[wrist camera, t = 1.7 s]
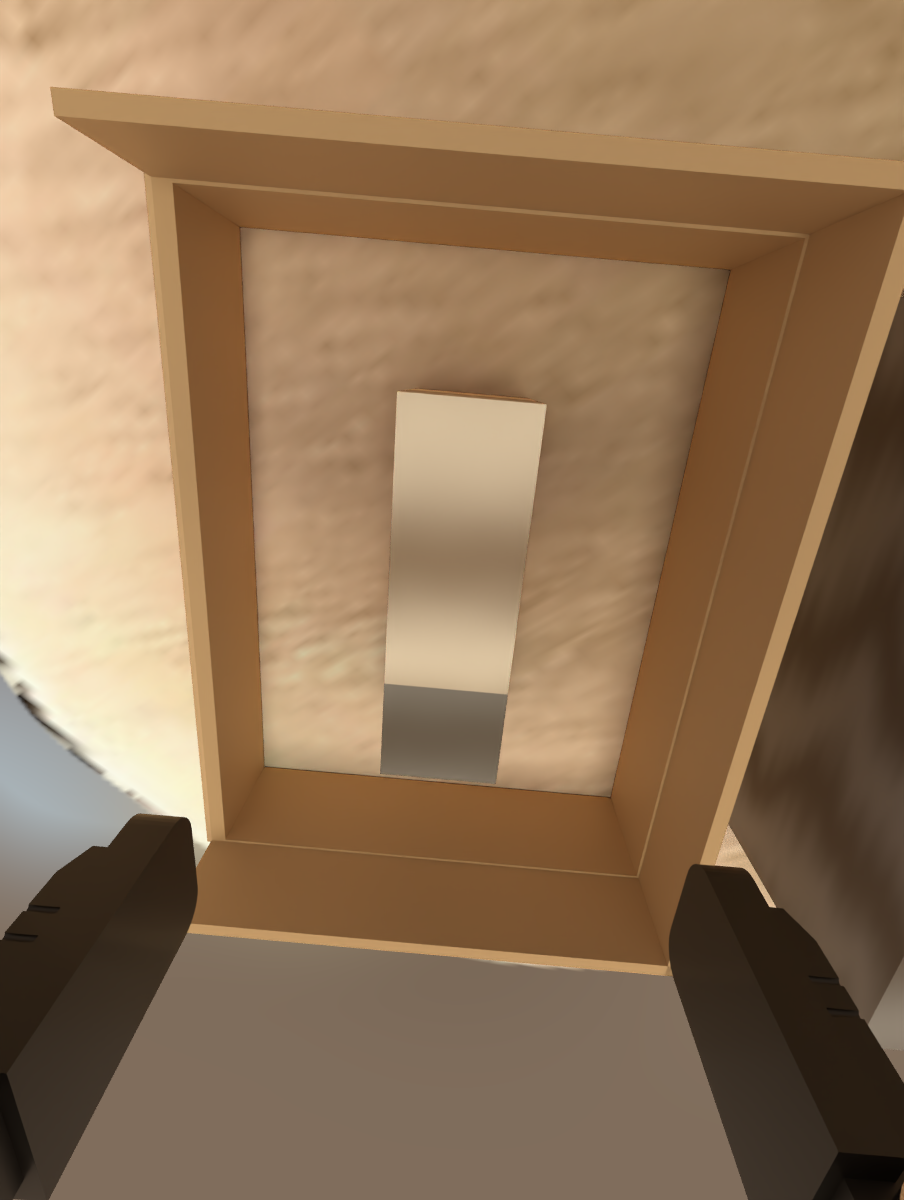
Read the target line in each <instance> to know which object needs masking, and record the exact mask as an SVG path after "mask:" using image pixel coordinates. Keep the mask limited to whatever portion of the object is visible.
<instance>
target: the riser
mask: <svg viewBox="0 0 904 1200" xmlns="http://www.w3.org/2000/svg"><path fill="white" fill-rule="evenodd" d="M728 824H729V826H730V827H731V829H732V831H733V833H734V834H735V836H736V838H737V839H738V841H739V843H740V845H741V846H742V848H743V850H744V852H745V853H746V855H747V857H748V859H749V860H750V862H751V864H752V866H753V867H754V869H755V871H756V872H757V874H758V876H759V878H760V879H761V881H762V883H763V885H764V886H765V888H766V890H767V892H768V893H769V895H770V897H771V899H772V900H773V902H774V904H775V905H776V907H777V908H783V909H784V910H785V911H786V912H787V913H788V914H789V915H790V916H791V917H792V918H793V919H794V920H795V921H797V922H798V923H799V924H800V925H801V926H802V927H803V928H804V929H805V930H806V931H807V932H808V933H809V934H810V935H811V936H812V937H813V938H814V939H815V940H816V941H817V943H818V945H819V946H820V948H821V950H822V951H823V953H824V954H825V956H826V958H827V959H828V961H829V963H830V964H831V966H832V967H833V969H834V971H835V972H836V974H837V976H838V977H839V983H840V985H841V986H844V987H845V989H846V990H847V992H848V993H849V995H850V997H851V998H852V1000H853V1002H854V1003H855V1005H856V1006H857V1008H858V1010H859V1016H860V1018H861V1019H865V1021H866V1023H867V1024H868V1026H869V1028H870V1029H871V1031H872V1032H873V1034H874V1036H875V1037H876V1039H877V1041H878V1042H879V1044H880V1045H881V1047H882V1049H893V1050H904V297H900V300H899V303H898V306H897V309H896V312H895V315H894V318H893V321H892V325H891V328H890V331H889V334H888V337H887V340H886V343H885V346H884V349H883V352H882V355H881V358H880V361H879V364H878V367H877V370H876V373H875V377H874V380H873V383H872V386H871V389H870V392H869V395H868V398H867V401H866V404H865V407H864V410H863V413H862V416H861V419H860V422H859V425H858V428H857V432H856V435H855V438H854V441H853V444H852V447H851V450H850V453H849V456H848V459H847V462H846V465H845V468H844V471H843V474H842V477H841V480H840V484H839V487H838V490H837V493H836V496H835V499H834V502H833V505H832V508H831V511H830V514H829V517H828V520H827V523H826V526H825V529H824V532H823V535H822V539H821V542H820V545H819V548H818V551H817V554H816V557H815V560H814V563H813V566H812V569H811V572H810V575H809V578H808V581H807V584H806V587H805V590H804V594H803V597H802V600H801V603H800V606H799V609H798V612H797V615H796V618H795V621H794V624H793V627H792V630H791V633H790V636H789V639H788V642H787V646H786V649H785V652H784V655H783V658H782V661H781V664H780V667H779V670H778V673H777V676H776V679H775V682H774V685H773V688H772V691H771V694H770V697H769V701H768V704H767V707H766V710H765V713H764V716H763V719H762V722H761V725H760V728H759V731H758V734H757V737H756V740H755V743H754V746H753V749H752V752H751V756H750V759H749V762H748V765H747V768H746V771H745V774H744V777H743V780H742V783H741V786H740V789H739V792H738V795H737V798H736V801H735V804H734V808H733V811H732V814H731V817H730V820H729V823H728Z"/></svg>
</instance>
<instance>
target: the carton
mask: <svg viewBox="0 0 904 1200" xmlns="http://www.w3.org/2000/svg"><path fill="white" fill-rule="evenodd" d="M50 89H51V96H52V103H53V110H54V116H56V117H57V118H59V119H60V120H62V121H63V122H65V123H67V124H68V125H70V126H71V127H73V128H75V129H76V130H78V131H79V132H81V133H82V134H84V135H86V136H87V137H89V138H90V139H92V140H94V141H95V142H97V143H98V144H100V145H102V146H103V147H105V148H106V149H108V150H109V151H111V152H113V153H114V154H116V155H117V156H119V157H121V158H122V159H124V160H125V161H127V162H128V163H130V164H132V165H133V166H135V167H136V168H138V169H140V170H141V171H143V172H144V180H145V191H146V201H147V212H148V222H149V233H150V243H151V253H152V264H153V274H154V285H155V295H156V306H157V316H158V327H159V337H160V348H161V358H162V369H163V379H164V390H165V400H166V411H167V421H168V432H169V442H170V453H171V463H172V474H173V484H174V495H175V505H176V516H177V526H178V537H179V547H180V558H181V568H182V579H183V589H184V600H185V610H186V621H187V631H188V642H189V652H190V663H191V673H192V684H193V694H194V704H195V715H196V725H197V736H198V746H199V757H200V767H201V778H202V788H203V799H204V809H205V820H206V830H207V841H210V842H211V843H210V844H209V846H208V848H207V850H206V851H205V853H204V855H203V857H202V858H201V860H200V862H199V864H198V866H197V867H196V875H197V884H198V896H197V903H196V908H195V912H194V916H193V919H192V922H191V925H190V927H189V930H188V932H187V933H197V934H207V935H218V936H229V937H240V938H251V939H263V940H274V941H285V942H296V943H307V944H318V945H329V946H341V947H353V948H364V949H374V950H386V951H396V952H408V953H419V954H431V955H441V956H453V957H463V958H475V959H486V960H497V961H508V962H519V963H530V964H541V965H553V966H564V967H575V968H586V969H597V970H608V971H620V972H631V973H642V974H653V975H665V976H673V975H672V970H671V966H670V959H669V934H670V929H671V926H672V923H673V919H674V916H675V913H676V909H677V906H678V903H679V899H680V896H681V893H682V889H683V886H684V883H685V879H686V876H687V873H688V870H689V868H690V867H691V866H692V865H693V864H702V865H714V866H715V863H716V859H717V856H718V853H719V850H720V847H721V844H722V841H723V838H724V835H725V832H726V829H727V826H728V823H729V820H730V817H731V814H732V811H733V808H734V804H735V801H736V798H737V795H738V792H739V789H740V786H741V783H742V780H743V777H744V774H745V771H746V768H747V765H748V762H749V759H750V756H751V752H752V749H753V746H754V743H755V740H756V737H757V734H758V731H759V728H760V725H761V722H762V719H763V716H764V713H765V710H766V707H767V704H768V701H769V697H770V694H771V691H772V688H773V685H774V682H775V679H776V676H777V673H778V670H779V667H780V664H781V661H782V658H783V655H784V652H785V649H786V646H787V642H788V639H789V636H790V633H791V630H792V627H793V624H794V621H795V618H796V615H797V612H798V609H799V606H800V603H801V600H802V597H803V594H804V590H805V587H806V584H807V581H808V578H809V575H810V572H811V569H812V566H813V563H814V560H815V557H816V554H817V551H818V548H819V545H820V542H821V539H822V535H823V532H824V529H825V526H826V523H827V520H828V517H829V514H830V511H831V508H832V505H833V502H834V499H835V496H836V493H837V490H838V487H839V484H840V480H841V477H842V474H843V471H844V468H845V465H846V462H847V459H848V456H849V453H850V450H851V447H852V444H853V441H854V438H855V435H856V432H857V428H858V425H859V422H860V419H861V416H862V413H863V410H864V407H865V404H866V401H867V398H868V395H869V392H870V389H871V386H872V383H873V380H874V377H875V373H876V370H877V367H878V364H879V361H880V358H881V355H882V352H883V349H884V346H885V343H886V340H887V337H888V334H889V331H890V328H891V325H892V321H893V318H894V315H895V312H896V309H897V306H898V303H899V300H900V297H901V294H902V291H903V288H904V161H896V160H885V159H873V158H862V157H850V156H839V155H827V154H816V153H804V152H793V151H781V150H770V149H758V148H747V147H735V146H724V145H712V144H701V143H690V142H678V141H667V140H655V139H644V138H632V137H621V136H609V135H598V134H586V133H575V132H563V131H552V130H540V129H529V128H517V127H506V126H494V125H483V124H471V123H460V122H448V121H437V120H425V119H414V118H402V117H391V116H379V115H368V114H356V113H345V112H333V111H322V110H310V109H299V108H287V107H276V106H265V105H253V104H242V103H230V102H219V101H207V100H196V99H184V98H173V97H161V96H150V95H138V94H127V93H115V92H104V91H92V90H81V89H69V88H58V87H50ZM240 227H247V228H259V229H270V230H282V231H293V232H305V233H316V234H327V235H339V236H350V237H362V238H373V239H385V240H396V241H407V242H419V243H430V244H442V245H453V246H465V247H476V248H488V249H499V250H510V251H522V252H533V253H545V254H556V255H568V256H579V257H590V258H602V259H613V260H625V261H636V262H648V263H659V264H671V265H682V266H693V267H705V268H716V269H728V270H731V271H730V275H729V279H728V284H727V288H726V293H725V297H724V301H723V306H722V310H721V315H720V319H719V323H718V328H717V332H716V337H715V341H714V345H713V350H712V354H711V359H710V363H709V367H708V372H707V376H706V381H705V385H704V389H703V394H702V398H701V403H700V407H699V411H698V416H697V420H696V425H695V429H694V433H693V438H692V442H691V447H690V451H689V455H688V460H687V464H686V469H685V473H684V477H683V482H682V486H681V491H680V495H679V499H678V504H677V508H676V513H675V517H674V521H673V526H672V530H671V535H670V539H669V543H668V548H667V552H666V557H665V561H664V565H663V570H662V574H661V579H660V583H659V587H658V592H657V596H656V601H655V605H654V609H653V614H652V618H651V623H650V627H649V631H648V636H647V640H646V645H645V649H644V653H643V658H642V662H641V667H640V671H639V675H638V680H637V684H636V689H635V693H634V697H633V702H632V706H631V711H630V715H629V719H628V724H627V728H626V733H625V737H624V741H623V746H622V750H621V755H620V759H619V763H618V768H617V772H616V777H615V781H614V785H613V790H612V794H611V798H608V797H596V796H585V795H574V794H563V793H551V792H540V791H529V790H518V789H506V788H495V787H484V786H473V785H462V784H450V783H439V782H428V781H417V780H405V779H394V778H383V777H372V776H361V775H349V774H338V773H327V772H316V771H304V770H293V769H282V768H271V767H264V747H263V726H262V704H261V682H260V660H259V638H258V617H257V595H256V573H255V551H254V530H253V508H252V486H251V464H250V442H249V421H248V399H247V377H246V355H245V333H244V312H243V290H242V268H241V246H240Z"/></svg>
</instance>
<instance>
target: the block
mask: <svg viewBox="0 0 904 1200" xmlns="http://www.w3.org/2000/svg"><path fill="white" fill-rule="evenodd" d="M546 407H547V404H544V403H541V402H538V401H535V400H532V399H529V398H519V397H508V396H496V395H485V394H473V393H462V392H451V391H439V390H428V389H416V388H415V389H409V390H403V391H397V405H396V428H395V451H394V474H393V496H392V519H391V542H390V565H389V587H388V610H387V633H386V656H385V678H384V701H383V724H382V747H381V769H380V774H390V775H401V776H412V777H423V778H435V779H446V780H457V781H468V782H480V783H491V784H496V778H497V770H498V763H499V756H500V748H501V741H502V733H503V726H504V718H505V711H506V704H507V696H508V689H509V681H510V674H511V666H512V659H513V652H514V644H515V637H516V629H517V622H518V615H519V607H520V600H521V592H522V585H523V577H524V570H525V563H526V555H527V548H528V540H529V533H530V525H531V518H532V511H533V503H534V496H535V488H536V481H537V473H538V466H539V459H540V451H541V444H542V436H543V429H544V422H545V414H546Z"/></svg>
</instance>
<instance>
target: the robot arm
mask: <svg viewBox="0 0 904 1200" xmlns="http://www.w3.org/2000/svg"><path fill="white" fill-rule="evenodd" d="M197 896H198V884H197V875H196V866H195V856H194V847H193V837H192V828H191V824H190V821H189V819H187V818H185V817H174V816H163V815H151V814H136V815H135V816H133V817H132V818H131V819H130V820H129V821H128V822H127V823H126V824H125V826H124V827H123V828H122V830H121V831H120V832H119V834H118V835H117V836H116V837H115V839H114V840H113V841H112V843H111V844H110V845H109V846H108V847H99V846H92V847H91V848H89V849H88V850H86V851H85V852H84V853H82V854H81V855H79V856H78V857H77V858H75V859H74V860H72V861H71V862H70V863H68V864H67V865H66V866H64V867H63V868H61V869H60V870H58V871H57V872H56V873H55V874H54V875H53V876H52V878H51V879H50V880H49V881H48V882H47V884H46V885H45V886H44V887H43V888H42V889H41V891H40V892H39V893H38V894H37V895H36V896H35V898H34V899H33V900H32V901H31V902H30V903H29V907H28V909H27V911H23V912H22V913H21V914H20V915H19V916H18V918H17V919H16V920H15V921H14V922H13V924H12V925H11V926H10V927H9V928H8V929H7V931H6V932H5V936H4V938H3V939H2V940H0V1200H13V1199H21V1200H49V1198H50V1196H51V1194H52V1192H53V1190H54V1188H55V1187H56V1184H57V1183H58V1181H59V1179H60V1177H61V1175H62V1173H63V1171H64V1169H65V1167H66V1165H67V1163H68V1161H69V1159H70V1158H71V1156H72V1154H73V1152H74V1150H75V1148H76V1146H77V1144H78V1142H79V1140H80V1138H81V1136H82V1134H83V1133H84V1130H85V1128H86V1127H87V1125H88V1123H89V1121H90V1119H91V1117H92V1115H93V1113H94V1111H95V1109H96V1107H97V1105H98V1104H99V1102H100V1100H101V1098H102V1096H103V1094H104V1092H105V1090H106V1088H107V1086H108V1084H109V1082H110V1080H111V1078H112V1076H113V1075H114V1073H115V1070H116V1069H117V1067H118V1065H119V1063H120V1061H121V1059H122V1057H123V1055H124V1053H125V1051H126V1050H127V1047H128V1046H129V1044H130V1042H131V1040H132V1038H133V1036H134V1034H135V1032H136V1030H137V1028H138V1026H139V1024H140V1022H141V1021H142V1019H143V1017H144V1015H145V1013H146V1011H147V1009H148V1007H149V1005H150V1003H151V1001H152V999H153V997H154V996H155V994H156V992H157V990H158V988H159V986H160V984H161V982H162V980H163V978H164V976H165V974H166V972H167V970H168V968H169V966H170V964H171V963H172V961H173V959H174V957H175V955H176V953H177V951H178V949H179V947H180V945H181V943H182V942H183V940H184V938H185V936H186V934H187V932H188V930H189V927H190V925H191V922H192V919H193V916H194V912H195V908H196V903H197ZM669 959H670V966H671V970H672V975H673V978H674V981H675V984H676V987H677V990H678V993H679V996H680V999H681V1002H682V1005H683V1007H684V1011H685V1014H686V1016H687V1019H688V1022H689V1025H690V1028H691V1031H692V1034H693V1037H694V1040H695V1043H696V1046H697V1049H698V1052H699V1055H700V1058H701V1061H702V1064H703V1067H704V1070H705V1073H706V1076H707V1079H708V1082H709V1085H710V1087H711V1091H712V1093H713V1097H714V1100H715V1103H716V1105H717V1108H718V1111H719V1114H720V1117H721V1120H722V1123H723V1126H724V1129H725V1132H726V1135H727V1138H728V1141H729V1144H730V1147H731V1150H732V1153H733V1156H734V1158H735V1162H736V1165H737V1168H738V1171H739V1174H740V1176H741V1179H742V1183H743V1185H744V1188H745V1191H746V1194H747V1197H748V1200H904V1083H903V1082H902V1080H901V1078H900V1077H899V1075H898V1073H897V1071H896V1070H895V1068H894V1067H893V1065H892V1063H891V1062H890V1060H889V1058H888V1057H887V1055H886V1054H885V1052H884V1051H883V1049H882V1047H881V1045H880V1044H879V1042H878V1041H877V1039H876V1037H875V1036H874V1034H873V1032H872V1031H871V1029H870V1028H869V1026H868V1024H867V1023H866V1021H865V1019H861V1018H860V1016H859V1010H858V1008H857V1006H856V1005H855V1003H854V1002H853V1000H852V998H851V997H850V995H849V993H848V992H847V990H846V989H845V987H844V986H841V985H840V983H839V977H838V976H837V974H836V972H835V971H834V969H833V967H832V966H831V964H830V963H829V961H828V959H827V958H826V956H825V954H824V953H823V951H822V950H821V948H820V946H819V945H818V943H817V941H816V940H815V939H814V938H813V937H812V936H811V935H810V934H809V933H808V932H807V931H806V930H805V929H804V928H803V927H802V926H801V925H800V924H799V923H798V922H797V921H795V920H794V919H793V918H792V917H791V916H790V915H789V914H788V913H787V912H786V911H785V910H784V909H783V908H772V907H769V906H768V904H767V902H766V901H765V899H764V897H763V895H762V894H761V892H760V890H759V888H758V886H757V885H756V883H755V881H754V879H753V878H752V876H751V875H750V874H749V872H748V871H746V870H745V869H743V868H736V867H725V866H714V865H702V864H693V865H692V866H691V867H690V868H689V870H688V873H687V876H686V879H685V883H684V886H683V889H682V893H681V896H680V899H679V903H678V906H677V909H676V913H675V916H674V919H673V923H672V926H671V929H670V934H669Z"/></svg>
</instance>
